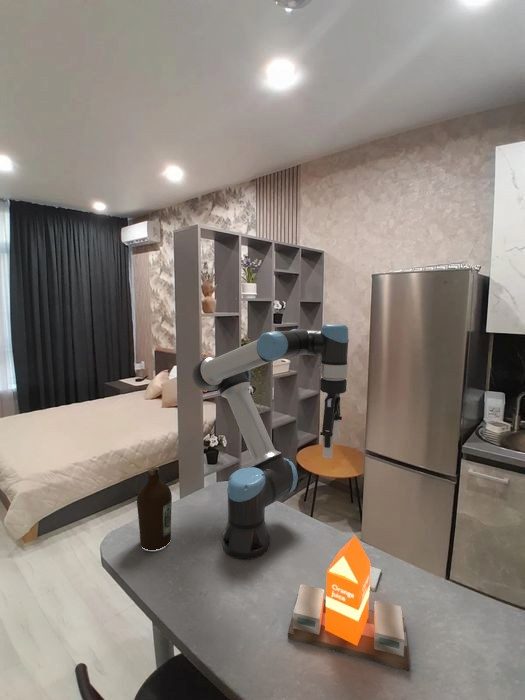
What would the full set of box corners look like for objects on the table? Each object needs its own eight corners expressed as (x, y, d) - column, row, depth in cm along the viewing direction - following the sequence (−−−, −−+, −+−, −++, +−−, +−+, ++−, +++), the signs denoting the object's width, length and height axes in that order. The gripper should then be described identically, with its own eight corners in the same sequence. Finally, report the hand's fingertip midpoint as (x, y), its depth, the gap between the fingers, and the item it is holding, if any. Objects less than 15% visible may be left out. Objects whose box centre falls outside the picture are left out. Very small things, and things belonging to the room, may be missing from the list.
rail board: (287, 638, 83) (288, 616, 83) (297, 598, 95) (297, 579, 94) (408, 670, 76) (410, 647, 75) (403, 623, 87) (404, 602, 87)
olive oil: (133, 553, 112) (130, 476, 109) (145, 532, 122) (143, 461, 119) (167, 554, 111) (164, 477, 108) (176, 533, 122) (175, 462, 119)
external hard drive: (374, 593, 97) (330, 576, 103) (381, 574, 104) (339, 559, 110) (375, 588, 97) (330, 571, 103) (381, 569, 104) (339, 554, 110)
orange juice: (368, 617, 87) (372, 540, 85) (357, 646, 80) (360, 562, 77) (337, 603, 91) (340, 529, 89) (324, 629, 84) (326, 549, 81)
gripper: (327, 370, 117) (325, 433, 120) (312, 385, 94) (309, 463, 96) (350, 371, 115) (348, 436, 117) (341, 388, 91) (338, 468, 94)
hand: (330, 448), depth 107 cm, fingers open, 13 cm apart
